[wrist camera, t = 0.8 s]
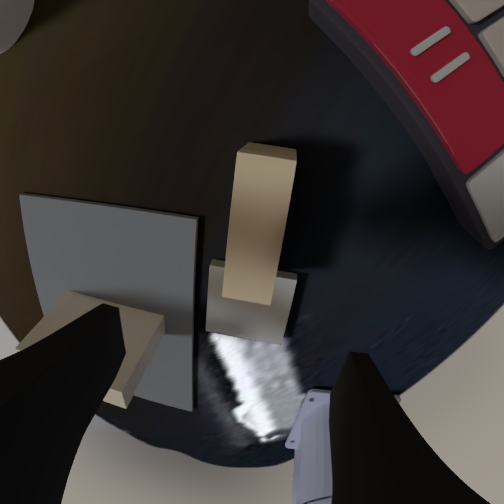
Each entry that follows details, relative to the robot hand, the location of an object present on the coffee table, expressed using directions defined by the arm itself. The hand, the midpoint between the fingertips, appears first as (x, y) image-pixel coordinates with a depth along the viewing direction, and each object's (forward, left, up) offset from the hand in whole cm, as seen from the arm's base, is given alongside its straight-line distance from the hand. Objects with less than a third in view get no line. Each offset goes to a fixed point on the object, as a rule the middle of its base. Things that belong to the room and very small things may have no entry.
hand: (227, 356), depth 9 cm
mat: (-8, +11, -9) cm, 16 cm away
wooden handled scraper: (-1, 0, -10) cm, 10 cm away
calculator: (+12, -10, -10) cm, 18 cm away
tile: (-7, +10, -9) cm, 15 cm away
